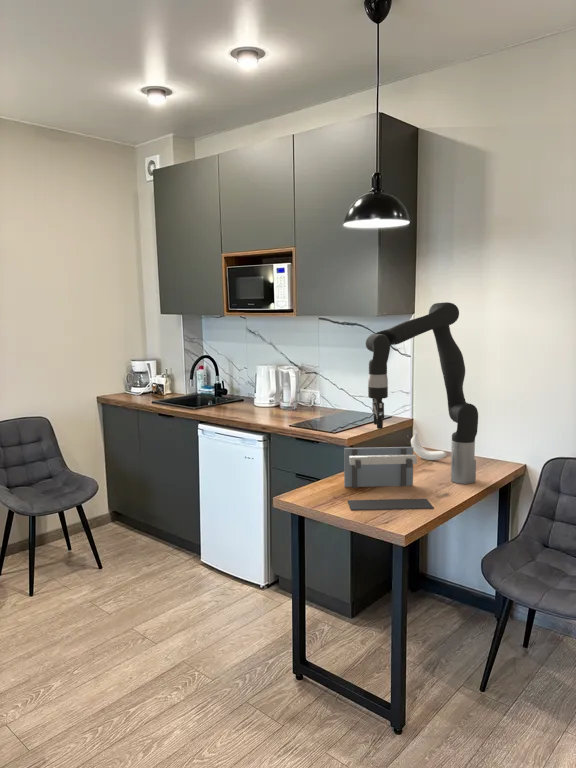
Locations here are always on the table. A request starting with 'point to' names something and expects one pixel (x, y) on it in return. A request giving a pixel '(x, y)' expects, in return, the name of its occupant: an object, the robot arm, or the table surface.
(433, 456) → the banana
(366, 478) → the rail stand
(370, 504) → the mat
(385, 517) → the table surface
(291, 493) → the table surface
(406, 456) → the rail
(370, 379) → the robot arm
